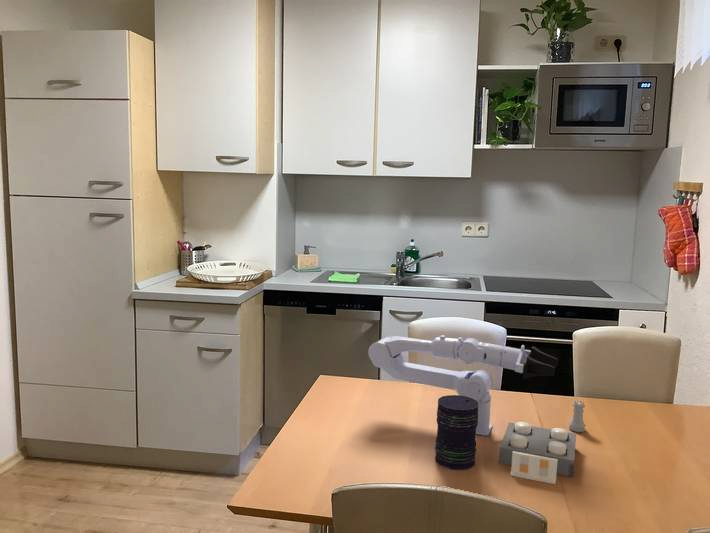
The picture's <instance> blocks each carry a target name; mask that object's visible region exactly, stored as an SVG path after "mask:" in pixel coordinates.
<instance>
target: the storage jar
mask: <svg viewBox="0 0 710 533" xmlns="http://www.w3.org/2000/svg"><path fill="white" fill-rule="evenodd" d="M437 399H438V400H437V409H436V424H437V432H436V437H435V445H434V452H435V457H434V461H435V463H436V464H437V465H439V466H440V467H442V468H444V469H447V470H451V471H452V470H453V471H465V470H469V469H473V467H474V466H476V455H477V440H476V437H477V436H476V435H477V434H476V428H477V425H478V402H477V401H476V400H474V399H472V398H469V397H466V396H459V394H457V395H456V394H452V395H443V396H441V397H439V398H437Z"/></svg>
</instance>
